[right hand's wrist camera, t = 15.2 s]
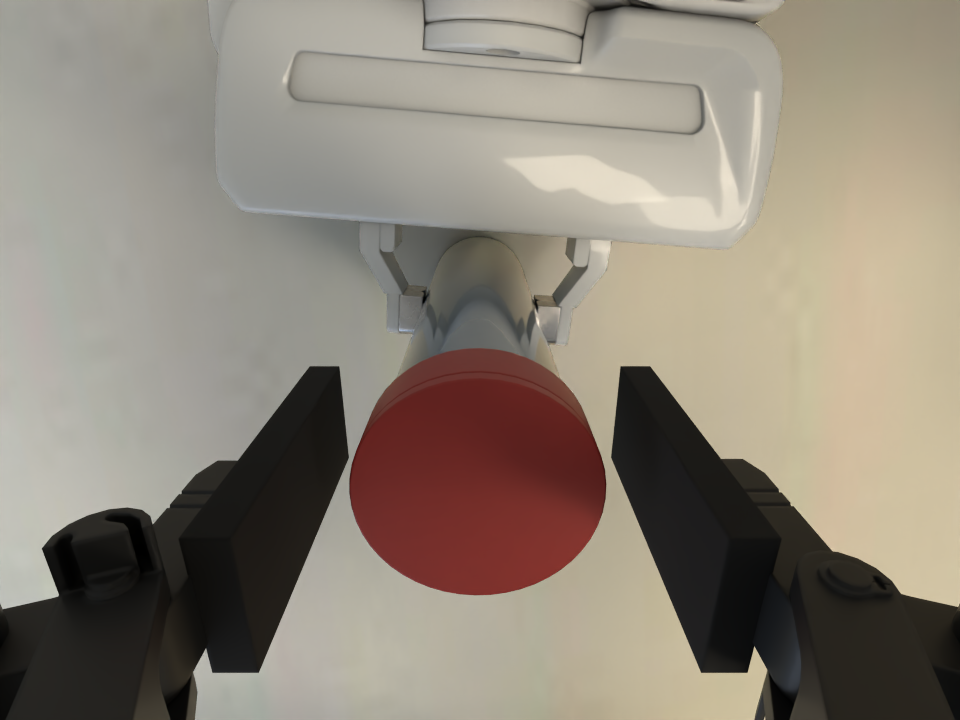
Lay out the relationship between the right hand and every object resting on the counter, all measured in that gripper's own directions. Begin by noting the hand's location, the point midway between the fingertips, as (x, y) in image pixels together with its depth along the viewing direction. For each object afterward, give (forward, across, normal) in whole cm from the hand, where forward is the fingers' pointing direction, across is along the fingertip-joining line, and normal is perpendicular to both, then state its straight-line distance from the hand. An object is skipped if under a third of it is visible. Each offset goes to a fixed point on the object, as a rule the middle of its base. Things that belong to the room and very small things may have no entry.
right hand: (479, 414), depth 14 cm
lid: (-3, 0, 0) cm, 3 cm away
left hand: (+9, 0, -1) cm, 10 cm away
